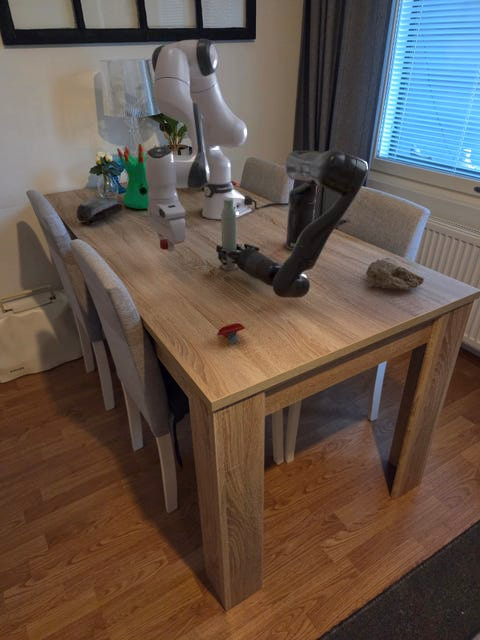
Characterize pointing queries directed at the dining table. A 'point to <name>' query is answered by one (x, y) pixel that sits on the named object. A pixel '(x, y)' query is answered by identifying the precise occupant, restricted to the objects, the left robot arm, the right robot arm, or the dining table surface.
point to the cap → (163, 244)
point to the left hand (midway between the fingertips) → (167, 248)
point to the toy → (135, 179)
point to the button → (231, 331)
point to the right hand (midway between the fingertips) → (224, 246)
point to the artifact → (391, 275)
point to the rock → (98, 210)
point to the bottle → (228, 229)
